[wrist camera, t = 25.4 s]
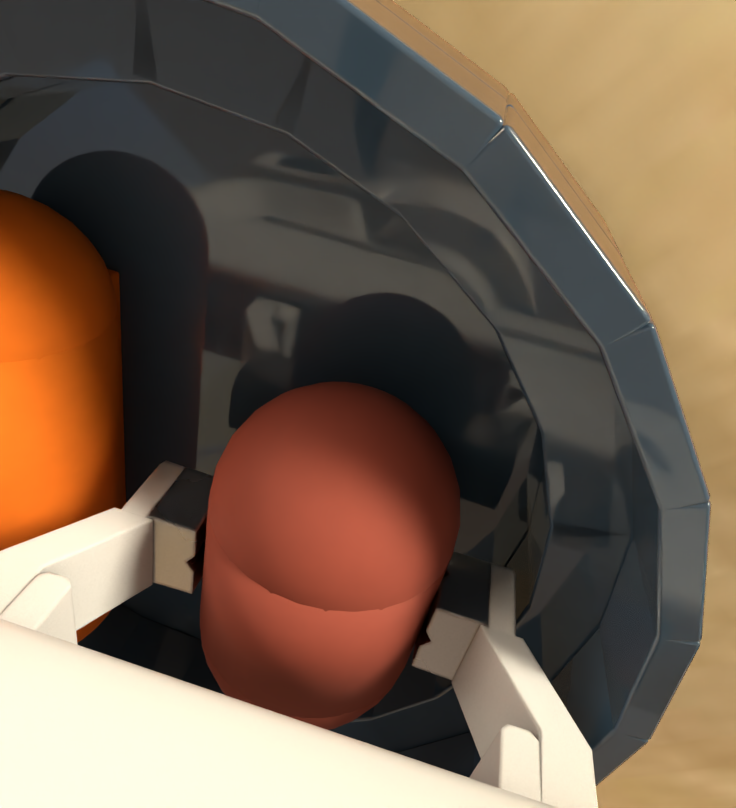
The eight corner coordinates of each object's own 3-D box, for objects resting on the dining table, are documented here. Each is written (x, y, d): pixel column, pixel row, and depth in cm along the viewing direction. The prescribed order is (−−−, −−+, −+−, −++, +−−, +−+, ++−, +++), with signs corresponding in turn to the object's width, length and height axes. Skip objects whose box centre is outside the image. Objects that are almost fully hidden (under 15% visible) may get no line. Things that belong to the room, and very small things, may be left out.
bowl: (813, -59, 8) (1137, -170, 4) (542, 728, 18) (549, 933, 14) (-305, -71, 11) (-800, -141, 7) (-2, 606, 21) (-129, 743, 17)
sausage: (276, 312, 12) (159, 444, 8) (499, 378, 11) (490, 547, 8) (242, 568, 16) (155, 734, 12) (403, 621, 16) (367, 807, 12)
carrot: (-36, 143, 11) (-268, 185, 8) (157, 197, 11) (1, 265, 8) (30, 552, 18) (-82, 669, 14) (154, 593, 17) (68, 722, 14)
